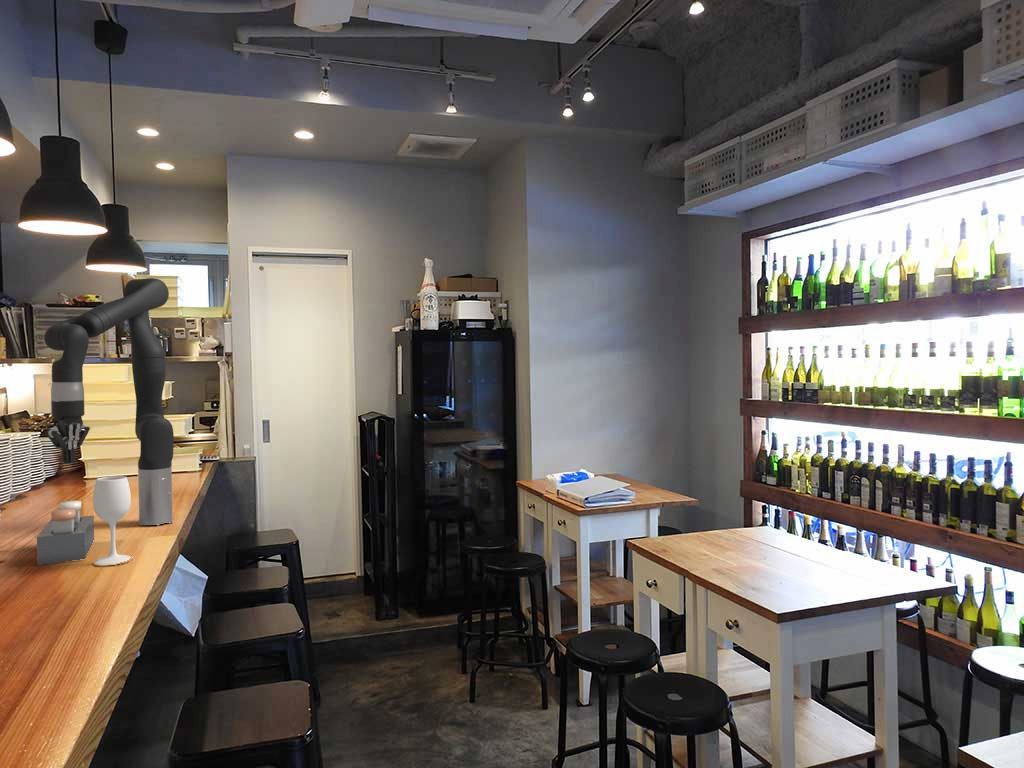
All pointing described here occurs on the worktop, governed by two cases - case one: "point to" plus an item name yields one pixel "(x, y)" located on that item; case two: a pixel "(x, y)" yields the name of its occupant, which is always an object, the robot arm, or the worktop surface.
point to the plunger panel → (65, 542)
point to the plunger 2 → (63, 520)
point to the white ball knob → (72, 505)
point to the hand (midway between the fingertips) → (69, 463)
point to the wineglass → (112, 509)
